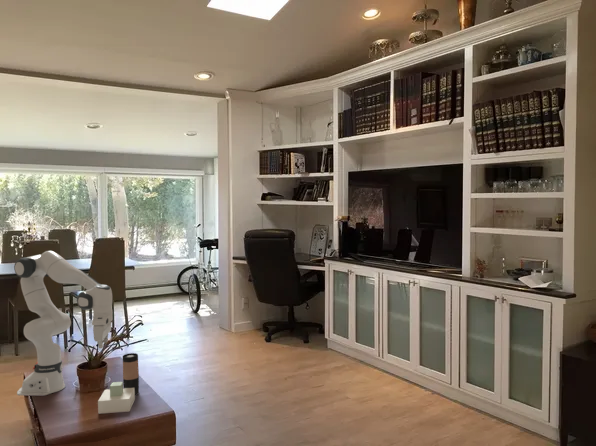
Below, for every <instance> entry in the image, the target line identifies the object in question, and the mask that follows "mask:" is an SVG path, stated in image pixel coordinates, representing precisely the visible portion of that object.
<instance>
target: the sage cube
mask: <svg viewBox="0 0 596 446" xmlns="http://www.w3.org/2000/svg"><path fill="white" fill-rule="evenodd" d="M123 388H124V385H123V381H116V382H115V381H114V382H111V384H110V385H109V389H110V397H111V396H121V395H122V393H123Z"/></svg>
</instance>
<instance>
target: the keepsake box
mask: <svg viewBox="0 0 596 446" xmlns="http://www.w3.org/2000/svg"><path fill="white" fill-rule="evenodd" d="M135 400H136V395H135V390H134V388H124V387H123V393H122V395H121V396H111V397H110V388H109V389H104V390H103V392H102V393H101V396H100V397H99V399H98V400H97V411H98V415H99V414H110V413H124V412H125V413H126V412H130V411H131V409H132V407H133V404H134V402H135Z"/></svg>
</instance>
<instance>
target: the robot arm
mask: <svg viewBox="0 0 596 446" xmlns="http://www.w3.org/2000/svg"><path fill="white" fill-rule="evenodd" d="M13 268H14V273H15V275H16V276H17V277H19V278H20V288H21V292H22V295H23V298H24V301H25V302H26V303H25V304H26V305H27V309H28V310H29V311H30V312H32V313H35V314H37V315H38V318H35V319H33V320H30V321H29V322H27V323H25V325H24V326H23V336H24V337H25V338H26V339H27V340H28V341H30V342H31V343H32V344H33V345H34V347H35V350H36V357H37V359H36V360H37V361H36V363H35V364H34V365H33V367H32V370H33V372H31V373H29V374H28V376H26V377H25V378H24V380H23V381H22V384H21V385H22V386H21V387H19V389H18V390H17V392H16V395H17V396H38V397H39V396H41V397H42V396H44V397H45V396H47V395H51V394H52V393H58V392H60V391H61V390H63V389H65V387H66V384H65V381H64V377H63V361H62V355H61V354H62V351H61V346H60V345H59V344H57V343H55V342H54V341H53V336H56V335H59V334H63V333H64V332H66V331H67V330H68V329H70V327H71V325H72V321H71V317H70V316H69V315H68V314H67V313H65V312H62V310H60V309H58V307H56V305H55V304H54V303H53V301H52V300H51V297H50V295H49V292H48V290H47V287H46V285H45V282H44V278H45V277H49V278H50V279H51V280H52V281H54V282H56V283H58V284H74V285H79V286H82V287H83V288H84V289H85V290H84V291H81V292H80V293H79V294H78V295H77V297H76V302H77V303H76V304H77V305H78V307H79V309H80V310H83V311H89V310H92V311H93V315H92V321H91V325H92V326H93V327H92V331H93V332H92V333H93V340H94V341H95V342H97V345H98V349H103V348H104V343H107V342H108V338H109V333H110V332H111V331H112V321H113V308H112V307H113V306H112V305H113V291H112V288H111V286H109V285H107V284H103V283H102V284H101V283H99V282H98V280H96V279H94V278H93V277H91V276H90V275H89V274H88V273H86V272H84V271H83V270H81V269H80V268H78V267H75V266H74V265H72V264H71V263H69V262H68V260H66V259H65V258H64V257H62V256H61V255H60V254H59V253H57V252H55V251H53V250H45V251H44V252H42V253H41V254H35V255H31V256H27V257H25V256H24V257H21V258H19V259H17V260H16V261H15V263H14V266H13Z"/></svg>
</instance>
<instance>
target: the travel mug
mask: <svg viewBox="0 0 596 446" xmlns="http://www.w3.org/2000/svg"><path fill="white" fill-rule="evenodd" d="M122 382H123V388H134V390H135V396H137V395H138V394H139V393H140V391H139V389H140V387H139V385H140V374H139V355H138V353H137V352H136V353H134V352H130V353H126V354H123V355H122Z"/></svg>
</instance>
